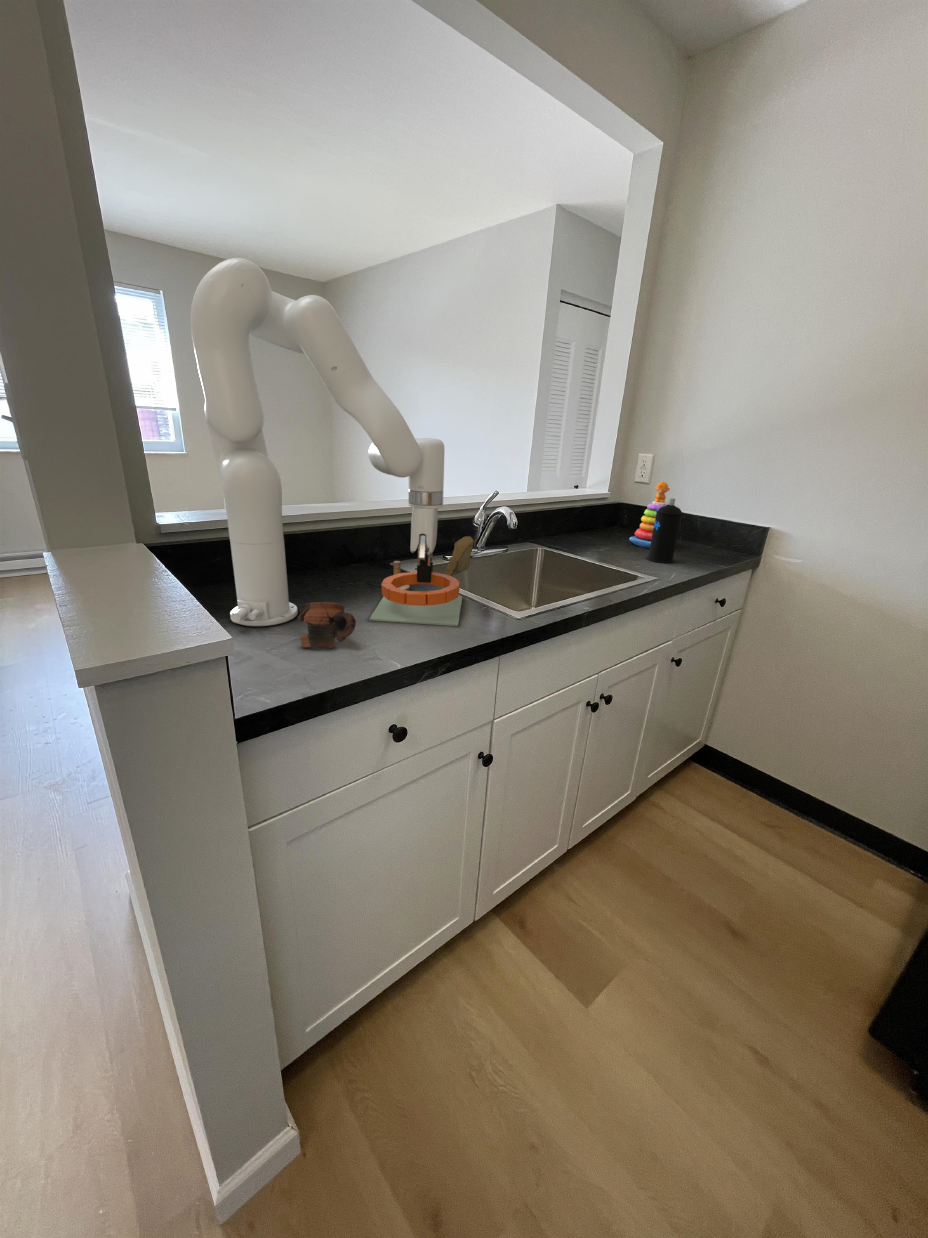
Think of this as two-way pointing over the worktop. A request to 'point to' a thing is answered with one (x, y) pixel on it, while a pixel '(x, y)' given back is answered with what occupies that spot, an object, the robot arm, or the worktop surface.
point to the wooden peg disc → (396, 571)
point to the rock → (460, 556)
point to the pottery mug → (325, 624)
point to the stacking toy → (650, 517)
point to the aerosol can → (665, 533)
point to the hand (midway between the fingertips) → (424, 579)
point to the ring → (419, 597)
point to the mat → (418, 613)
